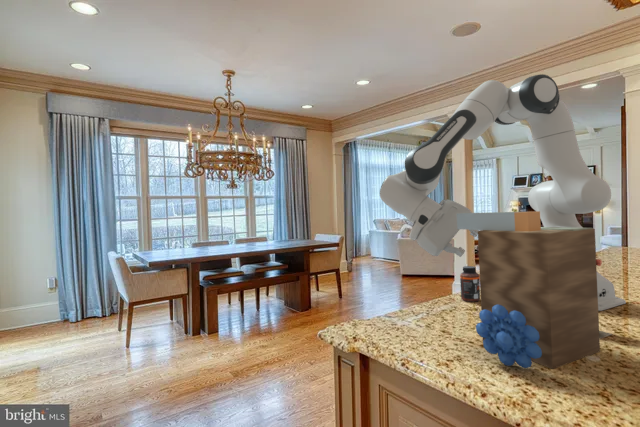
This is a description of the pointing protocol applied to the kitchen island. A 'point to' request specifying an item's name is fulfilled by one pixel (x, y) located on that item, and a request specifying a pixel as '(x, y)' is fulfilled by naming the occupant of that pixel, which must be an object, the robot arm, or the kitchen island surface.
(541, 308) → the tall wooden block
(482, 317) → the blue flower
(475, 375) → the kitchen island surface
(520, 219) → the grey and tan bar
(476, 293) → the supplement bottle
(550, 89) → the robot arm
